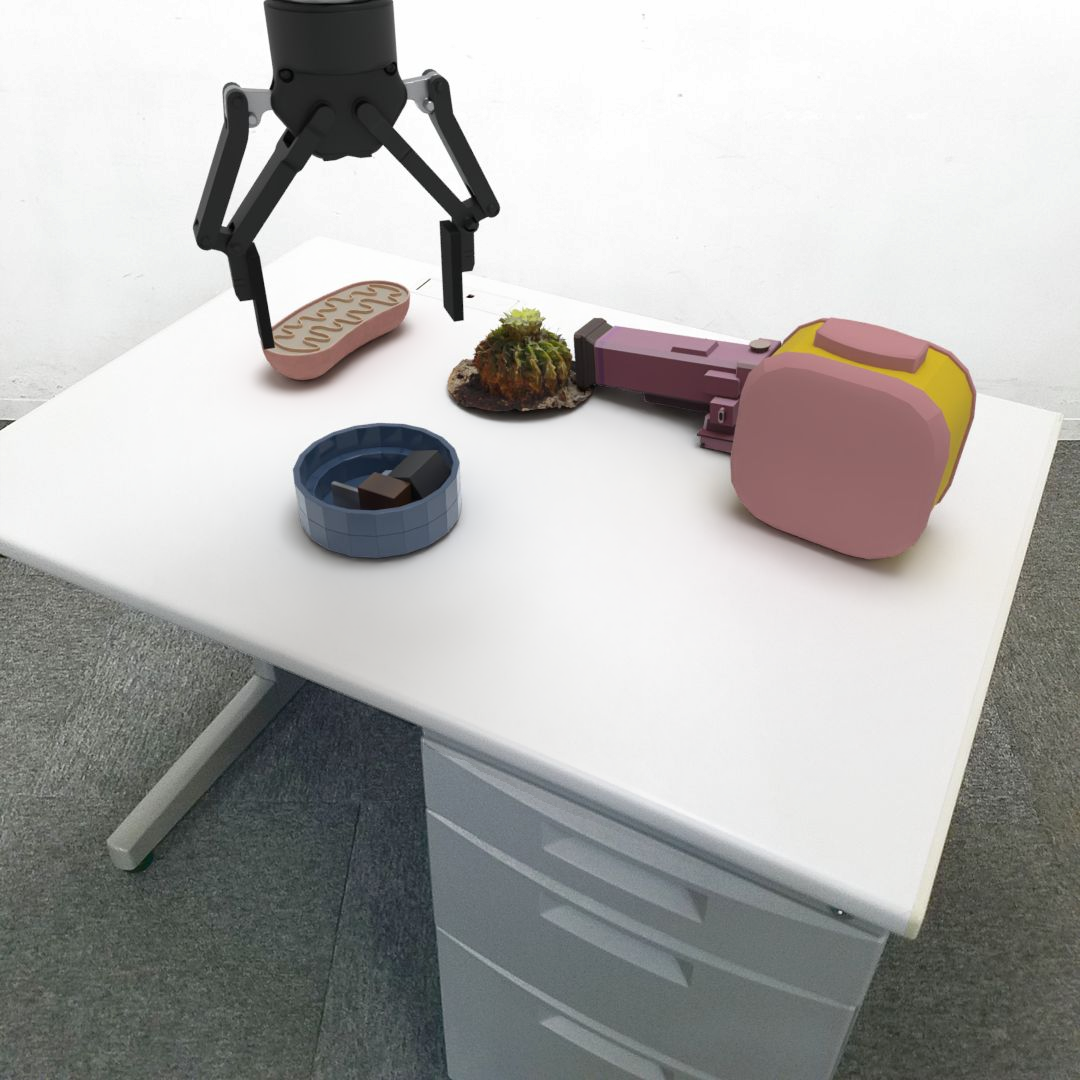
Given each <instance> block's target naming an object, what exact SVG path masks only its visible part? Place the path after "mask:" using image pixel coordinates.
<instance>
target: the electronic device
mask: <svg viewBox="0 0 1080 1080" xmlns="http://www.w3.org/2000/svg"><path fill="white" fill-rule="evenodd" d="M782 343H783V342H782V341H781V340H777V339H771V338H770V339H769V338H762V337H758V339H753V340H751V341H749V344H744V343H737V342H731V341H725V340H716V339H711V338H710V339H709V338H702V337H696V336H689V335H684V334H683V335H682V334H675V333H668V332H661V331H654V330H648V329H640V328H634V327H627V326H619V325H611V324H610V323H608V322H607V319H605V318H603V317H593V318H592V319H591V320H589V321H588V322H586V323H585V324H584V325H583V326H581V327H580V328H579V329H578V330H576V331H575V332H574V333H573V348H574V349H573V351H574V361H575V367H576V381H577V388H584V389H586V388H589V387H590V386H592V385H594V386H595V385H598V386H601V387H606V388H610V389H618V390H622V391H626V392H627V391H628V392H634V393H640V394H643V400H644V401H645V402H646V403H649V404H653V405H660V406H666V407H672V408H677V409H681V410H687V411H693V412H698V413H704V414H705V416H704V421H703V426H702V427H701V429H700V430H698V432H697V433H696V437H697V436H698V437H699V447H701V448H706V449H710V450H711V449H712V450H715V451H720V452H725V453H726V452H727V453H730V454H731V452H732V446H733V439H734V433H735V427H736V421H737V415H738V409H739V403H740V396H741V392H742V389H743V387H744V384H745V382H746V379H747V377H748V374H749V373H750V372H751V371H752V370H753V369H754V368H755V367H756V366H757V365H758V364H759V363H760V362H761V361H762V360H764V359H765V358H768V357H771V356H772V355H773V354H774V353H775V352H776V351H777V350H778V349H779V348H780V347H781V345H782Z"/></svg>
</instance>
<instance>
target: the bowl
mask: <svg viewBox="0 0 1080 1080" xmlns="http://www.w3.org/2000/svg"><path fill="white" fill-rule="evenodd" d="M425 450H438V452H439V453H440V455H441V457H442V458H443V460H444V461H445V463H446V464H447V466H448V468H449V469H450V471H451V475H450V476H449V477H448V478H447V479H446V480H445V481H444V482H443V483H442V484H441V485H440V486H439V487H438V488H437V489H436V490H435V491H434V492H433V493H432V494H430V495H428V496H427V497H425V498H424V499H422V500H419V501H415V500H412V503H410V504H407V505H404V506H401V507H396V508H389V509H382V510H352V509H346V508H342V507H338V506H335V505H334V500H333V494H332V487H331V483H332V482H333V481H335V482H339V483H342V484H345V485H348V486H351V487H354V488H357V489H358V486H359V485H360V484H361V483H363V482H364V481H365V480H366V479H367V478H368V477H369V476H371V475H372V474H373V473H374V472H376V473H379V474H382V473H383V472H384V471H385V470H393V469H394V468H395V467H397V466H398V465H399V464H400V463H401V462H402V461H403V460H404V459H405V458H406V457H407V456H408V455H409V454H410V453H411V452H413V451H425ZM292 474H293V475H292V476H293V484H294V490H295V495H296V501H297V507H298V513H299V519H300V524H301V527H302V529H303V530H304V532H305V533H306V534H307V535H308V537H309V538H310V540H311V541H313V542H315V543H316V544H318V545H320V546H322V547H323V548H325V549H327V550H328V551H331V552H334V553H338V554H342V555H345V556H350V557H352V558H353V557H354V558H372V559H381V558H386V557H387V558H388V557H395V556H402V555H406V554H410V553H412V552H415V551H418V550H420V549H423V548H426V547H429V546H430V545H432V544H433V543H435V542H436V541H438V540H439V539H441V538H442V537H444V536H446V535H447V534H448V533H449V532H450V531H451V529H452V528H453V526H454V525H455V524H456V522H457V521H458V520H459V518H460V513H461V508H462V485H461V461H460V459H459V455H458V453H457V451H456V448H455V447H454V446H453V445H452V444H451V443H449V442H448V440H447V439H445V437H443V436H442V435H439V434H437V433H435V432H433V431H432V430H429V429H427V428H424V427H420V426H416V425H410V424H406V423H395V422H375V423H374V422H373V423H367V424H366V423H365V424H358V425H352V426H349V427H346V428H343V429H339V430H336V431H332V432H330V433H328V434H326V435H324V436H323V437H321V438H318V439H316V440H315V441H313V442H311V444H310V445H308V446H307V448H305V449H304V450H303V451H301V453H300V454H299V455H298V458H297V459H296V461H295V463H294V465H293V468H292Z"/></svg>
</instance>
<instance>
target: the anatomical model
mask: <svg viewBox="0 0 1080 1080" xmlns="http://www.w3.org/2000/svg"><path fill="white" fill-rule="evenodd" d="M410 302H411V292H410V290H409V289H408V288H407V287H406V286H404V284H400V283H398V282H395V281H390V280H378V279H374V280H373V279H372V280H363V281H356V282H353V283H350V284H347V285H345V286H343V287H340V288H338V289H336V290H333V291H331V292H329V293H327V294H324V295H322V296H320V297H318V298H316V299H313V300H312V301H309V302H308V303H306V304H304V305H302V306H301V307H299V308H296V310H294V311H292V312H291V313H289V314H287V315H286V316H284V317H283V318H282V319H280V320H279V321H278V322H276V323H275V324H273V325H271V326H272V332H273V338H274V344H275V348H272V349H265V350H264V348H263V345H262V342H261V340H260V341H259V342H260V346H261V350H262V353H263V355H264V357H265V359H266V361H267V362H268V364H269V365H270V366H271V367H272V368H273V369H274V370H275V371H276V372H278V373H279V374H281V375H283V376H284V377H285V378H289V379H292V380H293V379H294V380H298V381H308V380H313V379H316V378H319V377H321V376H323V375H324V374H326V373H327V372H328V371H329V370H330V369H332V368H333V367H334V366H336V364H338V363H339V362H340V361H341V360H342V359H343V358H345V357H346V356H348V355H349V354H351V353H352V352H354V351H356V350H357V349H358V348H361V346H363V345H365V344H368V343H369V342H371V341H373V340H376V339H378V338H379V337H381V336H384V334H388V333H390V332H392V331H393V330H395V329H396V328H397V327H399V326H400V325H401V324H402V323H403V321H404V320H405V318H406V317H407V315H408V312H409V310H410V309H409V308H410V304H411V303H410Z"/></svg>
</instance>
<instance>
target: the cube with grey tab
mask: <svg viewBox="0 0 1080 1080" xmlns="http://www.w3.org/2000/svg"><path fill="white" fill-rule="evenodd" d="M382 474H383V475H386V476H389V477H392V478H396V479H399V480H402V481H405V482H409V483H410V484H411V495H412V500H415V501H419V500H422V499H424V498H425V497H427V496H428V495H430V494H432V493H433V492H434V491H435V490H436V489H437V488H438V487H439V486H440V485H441V484H442V483H443V482H444V481H445V480H446V479H447V478H448V477H449V476H450V475H451V471H450V469H449V468H448V466H447V464H446V463H445V461H444V460H443V458H442V457H441V455H440V453H439V452H438V450H425V451H413V452H411V453H410V454H409V455H408V456H407V457H406V458H405V459H404V460H403V461H402V462H401V463H400V464H399V465H398V466H397V467H395V468H394V469H393V470H385V471H384V472H383V473H382Z"/></svg>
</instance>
